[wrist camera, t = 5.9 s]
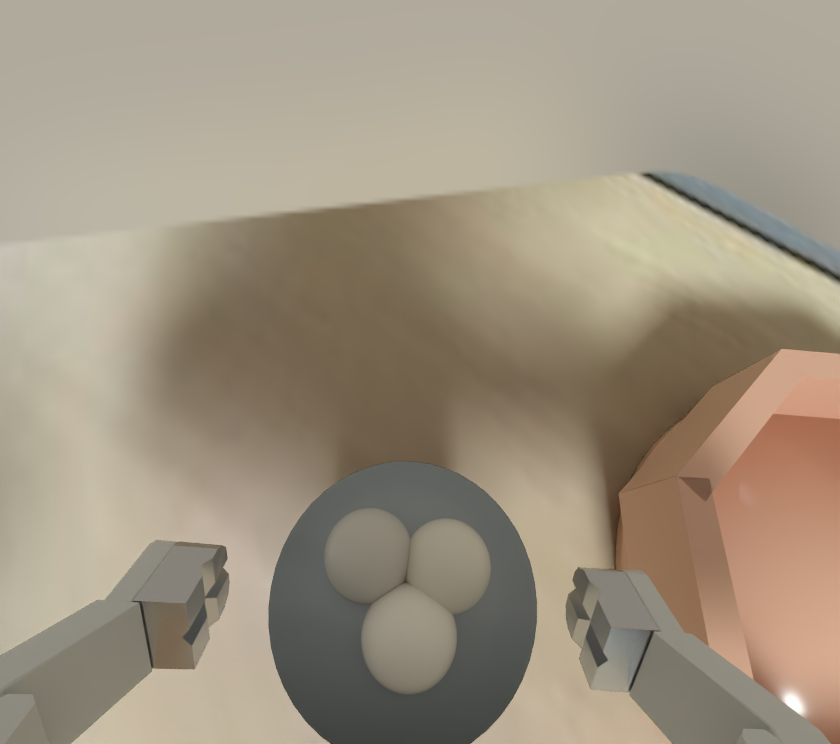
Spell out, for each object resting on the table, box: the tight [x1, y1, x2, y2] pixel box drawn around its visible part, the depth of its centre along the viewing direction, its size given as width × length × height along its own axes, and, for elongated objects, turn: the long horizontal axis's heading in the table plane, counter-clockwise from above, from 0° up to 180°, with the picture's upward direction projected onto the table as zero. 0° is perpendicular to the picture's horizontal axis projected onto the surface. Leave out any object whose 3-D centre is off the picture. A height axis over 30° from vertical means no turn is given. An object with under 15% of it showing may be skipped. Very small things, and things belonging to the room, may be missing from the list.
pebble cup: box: [269, 461, 537, 744], centre depth 11 cm, size 5×5×9 cm
